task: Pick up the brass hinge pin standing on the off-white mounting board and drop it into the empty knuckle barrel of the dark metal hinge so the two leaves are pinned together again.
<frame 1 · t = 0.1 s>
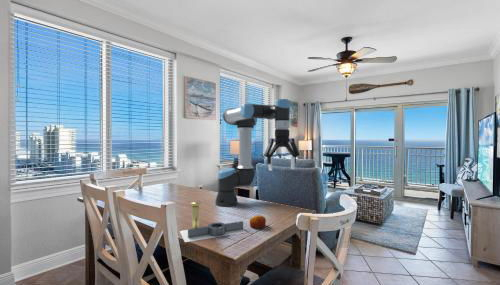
hand: (281, 169, 134), 28 cm above the table, fingers open, 13 cm apart
board: (212, 234, 118), on the table
pin: (195, 230, 120), point 1 cm above the table, touching board
fruit: (257, 229, 125), on the table
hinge: (216, 233, 116), resting on board
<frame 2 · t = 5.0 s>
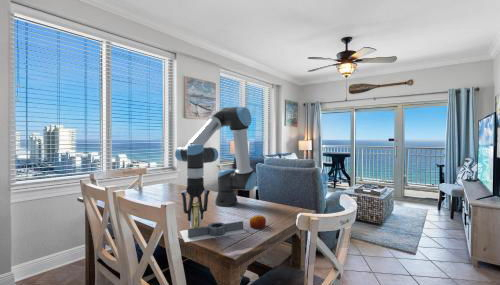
hand: (195, 226, 120), 3 cm above the table, fingers closed on pin, 3 cm apart
pin: (195, 230, 120), point 1 cm above the table, touching board, gripper
everything else where it was.
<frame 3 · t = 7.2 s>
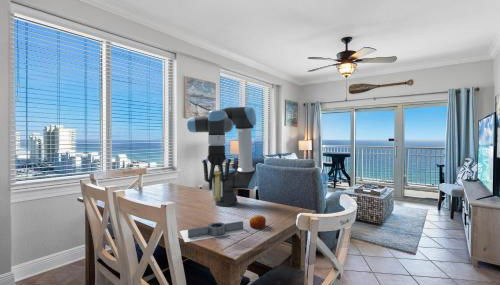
hand: (216, 196, 116), 18 cm above the table, fingers closed on pin, 3 cm apart
pin: (216, 199, 116), point 16 cm above the table, touching gripper
everything else where it was.
when the fingers open (6 cm above the table, at t = 9.5 s): pin drops 3 cm, resting on board.
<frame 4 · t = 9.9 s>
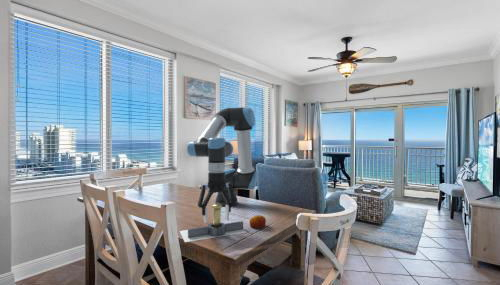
hand: (216, 220, 116), 7 cm above the table, fingers open, 9 cm apart
pin: (216, 232, 116), point 1 cm above the table, touching board
everything else where it was.
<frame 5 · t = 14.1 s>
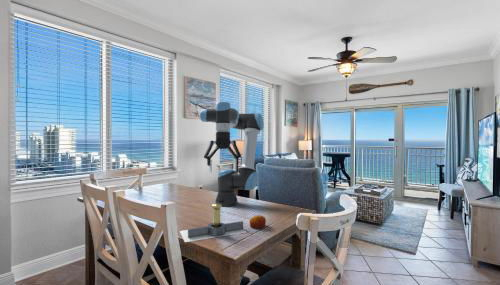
hand: (222, 171, 136), 27 cm above the table, fingers open, 13 cm apart
nothing on the table moved.
at the end: pin 0.0 cm off-centre on the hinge, point 0.0 cm above the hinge's base; pin tilted 0°; the gripper is holding nothing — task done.
